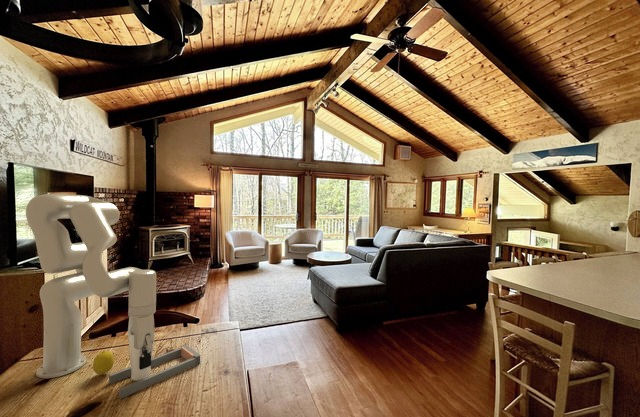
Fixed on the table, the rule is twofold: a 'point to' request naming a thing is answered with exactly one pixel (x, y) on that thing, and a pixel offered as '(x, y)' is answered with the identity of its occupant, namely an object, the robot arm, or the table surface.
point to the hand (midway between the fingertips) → (141, 362)
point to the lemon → (103, 362)
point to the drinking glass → (137, 361)
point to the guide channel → (184, 351)
